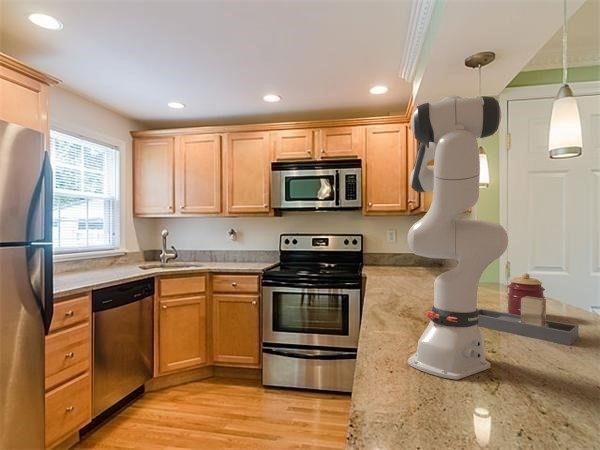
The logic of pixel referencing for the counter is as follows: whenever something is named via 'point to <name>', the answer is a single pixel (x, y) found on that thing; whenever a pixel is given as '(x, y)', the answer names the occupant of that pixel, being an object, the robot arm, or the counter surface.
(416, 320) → the counter surface
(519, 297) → the canister
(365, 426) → the counter surface
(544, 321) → the block
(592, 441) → the counter surface
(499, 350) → the counter surface
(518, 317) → the box
